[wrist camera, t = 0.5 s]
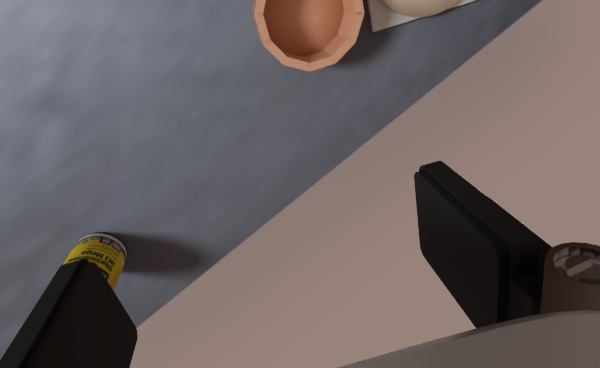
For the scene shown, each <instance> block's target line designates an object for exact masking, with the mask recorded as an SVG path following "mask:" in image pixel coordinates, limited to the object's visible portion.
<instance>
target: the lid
mask: <svg viewBox="0 0 600 368" xmlns="http://www.w3.org/2000/svg"><path fill="white" fill-rule="evenodd" d="M458 1H459V0H380V2H381V3H382V4H384V5H385V6H386V7H387V8H389V9H390V10H392V11H394V12H396V13H398V14H401V15H405V16H409V17H427V16H431V15H435V14H438V13H440V12H443V11H444V10H446V9H448V8H450V7H451V6H453V5H454V4H455V3H457V2H458Z"/></svg>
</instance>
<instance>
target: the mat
mask: <svg viewBox="0 0 600 368" xmlns="http://www.w3.org/2000/svg"><path fill="white" fill-rule="evenodd" d="M473 1H476V0H459V1H458V2H457V3H455V4H454V5H453V6H451V7H450V8H453V7H457V6H460V5H463V4H466V3H470V2H473ZM367 4H368V10H369V17H370V23H371V29H372V32H376V31H379V30H382V29H385V28H389V27H392V26H395V25H398V24H402V23H405V22H408V21H411V20H415V19H418V18H421V17H409V16H405V15H401V14H398V13H396V12H394V11H392V10H390V9H389V8H387V7H386V6H385V5H384V4H382V3H381V2H380V0H367ZM450 8H448V9H450ZM446 10H447V9H446Z"/></svg>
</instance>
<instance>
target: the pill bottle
mask: <svg viewBox="0 0 600 368" xmlns="http://www.w3.org/2000/svg"><path fill="white" fill-rule="evenodd" d="M126 258H127V253H126V249H125V247H124V245H123V244H122V243H121V242H120V241H119V240H118V239H116V238H115V237H113V236H110V235H107V234H101V233H95V234H90V235H87V236H85V237H83V238H81V239H80V240H79V241H78V242H77V243H76V245H75V246H74V248H73V249H72V251H71V253H70V254H69V256H68V257H67V259H66V260H65V262H64V264H67V263H70V262H74V261H78V260H81V259H87V260H88V261H89V262H95V263H96V264H97V265H98V267H99V268H100V270H101V272H102V273H103V275H104V276H105V278H106V280H107V281H108V283H109V285H110V286H111V288H112V289H113V291H114V289H115V286H116V284H117V281H118V279H119V276H120V274H121V272H122V269H123V267H124V264H125V261H126ZM64 264H63V265H64Z"/></svg>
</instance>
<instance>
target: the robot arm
mask: <svg viewBox="0 0 600 368" xmlns="http://www.w3.org/2000/svg"><path fill="white" fill-rule="evenodd" d="M414 179H415V192H416V203H417V215H418V226H419V239H420V248H421V251H422V254H423V256H424V257H425V259H426V260H427V262H428V263H429V264H430V266H431V267H432V268H433V270H434V271H435V272H436V274H437V275H438V277H439V278H440V279H441V281H442V282H443V283H444V285H445V286H446V287H447V289H448V290H449V291H450V293H451V294H452V296H453V297H454V298H455V300H456V301H457V303H458V304H459V305H460V307H461V308H462V309H463V310H464V312H465V313H466V315H467V316H468V318H469V319H470V320H471V322H472V323H473V324H474V326H475V327H476V329H473V330H469V331H466V332H462V333H458V334H455V335H451V336H447V337H444V338H440V339H436V340H432V341H429V342H425V343H422V344H418V345H415V346H411V347H408V348H404V349H401V350H398V351H394V352H391V353H388V354H384V355H380V356H377V357H373V358H370V359H366V360H363V361H359V362H356V363H353V364H349V365H346V366H342V367H339V368H600V246H598V245H593V244H588V243H576V242H571V243H563V244H560V245H557V246H554V247H551V246H550V245H548V244H547V243H546V242H545V241H543V240H542V239H541V238H540V237H538V236H537V235H536V234H535V233H533V232H532V231H531V230H529V229H528V228H527V227H525V226H524V225H523V224H522V223H521V222H519V221H518V220H517V219H515V218H514V217H513V216H512V215H510V214H509V213H508V212H507V211H505V210H504V209H503V208H501V207H500V206H499V205H498V204H496V203H495V202H494V201H493V200H491V199H490V198H488V197H487V196H485V195H484V194H482V193H481V192H480V191H479V190H477V189H476V188H475V187H474V186H472V185H471V184H470V183H469V182H467V181H466V180H465V179H463V178H462V177H461V176H460V175H458V174H457V173H456V172H454V171H453V170H452V169H451V168H450V167H448V166H447V165H446V164H445V163H443V162H442V161H437V162H433V163H430V164H426V165H423V166H421V167H420V169H419V172H416V173H415V175H414ZM136 342H137V330H136V327H135V325H134V324H133V322H132V320H131V319H130V317H129V315H128V314H127V312H126V311H125V309H124V307H123V306H122V304H121V302H120V301H119V299H118V298H117V296H116V294H115V293H114V291H113V289H112V288H111V286H110V285H109V283H108V281H107V280H106V278H105V276H104V275H103V273H102V272H101V270H100V268H99V267H98V265H97V264H96V263H95V262H89V261H88V260H87V259H81V260H78V261H74V262H70V263H67V264H64V265H62V266H61V267H60V268H59V269H58V271H57V273H56V274H55V276H54V277H53V279H52V280H51V282H50V284H49V285H48V287H47V288H46V290H45V291H44V293H43V294H42V296H41V298H40V299H39V301H38V302H37V304H36V305H35V307H34V309H33V310H32V312H31V313H30V315H29V316H28V318H27V320H26V321H25V323H24V324H23V326H22V327H21V329H20V330H19V332H18V334H17V335H16V337H15V338H14V340H13V341H12V343H11V345H10V346H9V348H8V349H7V351H6V352H5V354H4V355H3V357H2V359H1V360H0V368H129V367H130V363H131V360H132V356H133V352H134V349H135V345H136Z"/></svg>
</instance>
